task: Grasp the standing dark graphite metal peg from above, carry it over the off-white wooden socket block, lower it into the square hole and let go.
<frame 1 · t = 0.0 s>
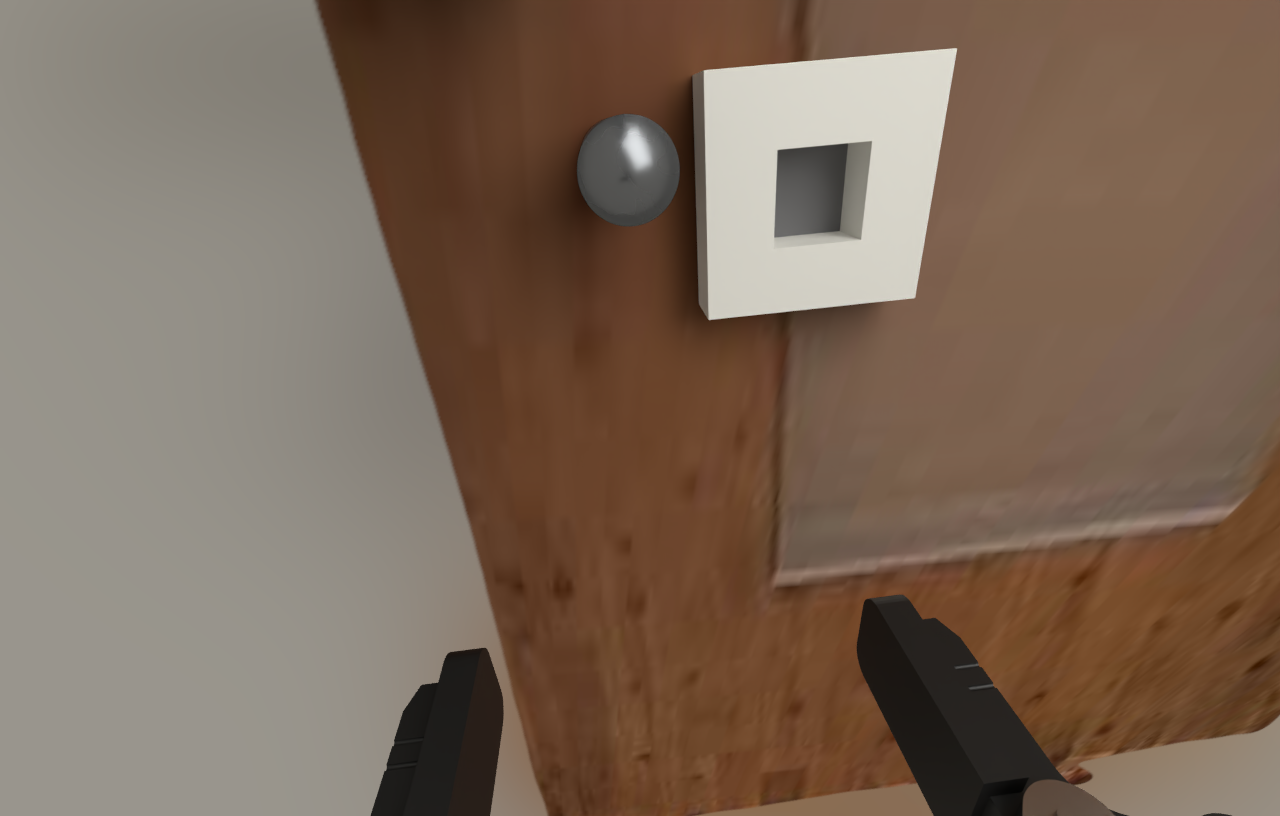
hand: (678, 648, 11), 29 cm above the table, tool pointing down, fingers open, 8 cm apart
graphite peg: (615, 157, 33), on the table
socket block: (800, 190, 35), on the table
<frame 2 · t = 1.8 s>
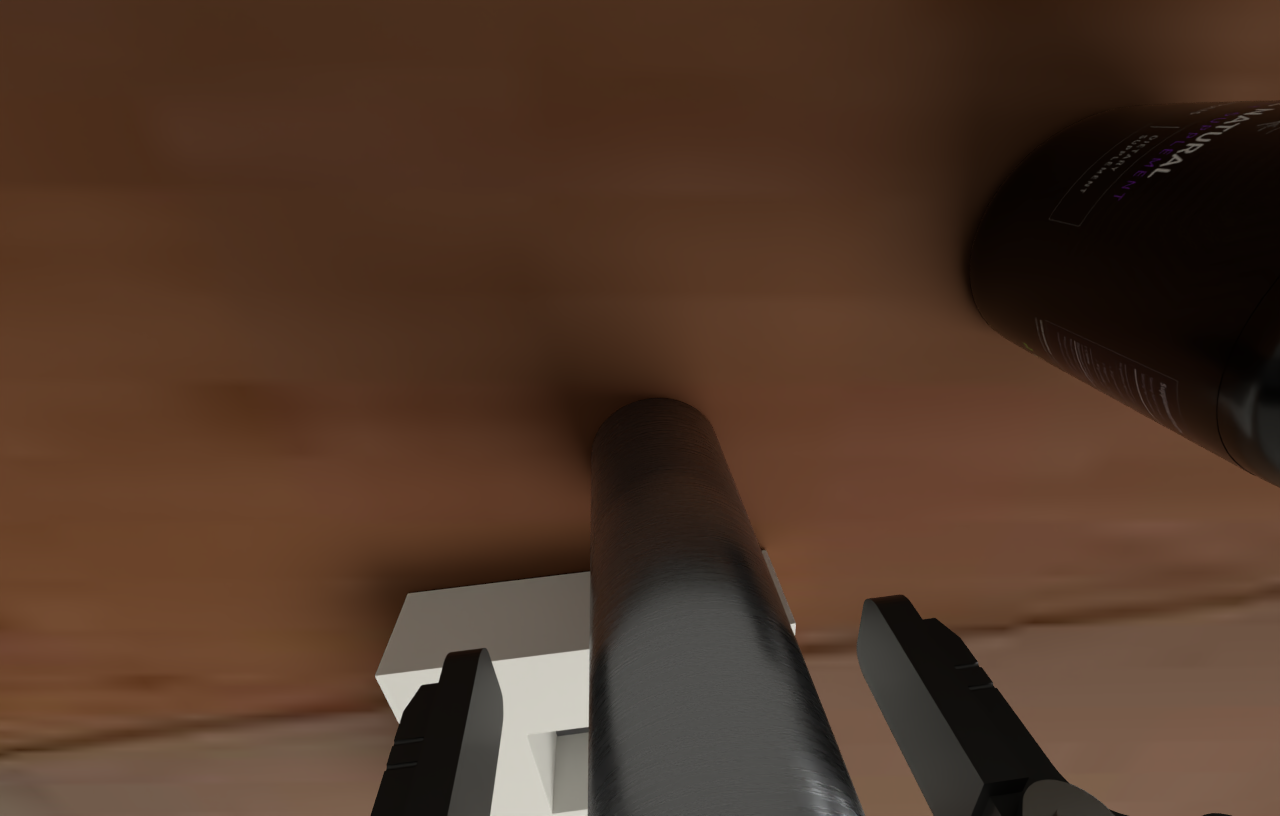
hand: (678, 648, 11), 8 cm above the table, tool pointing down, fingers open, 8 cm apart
supplement bottle: (1065, 235, 16), on the table
graphite peg: (655, 454, 18), on the table
socket block: (609, 685, 24), on the table
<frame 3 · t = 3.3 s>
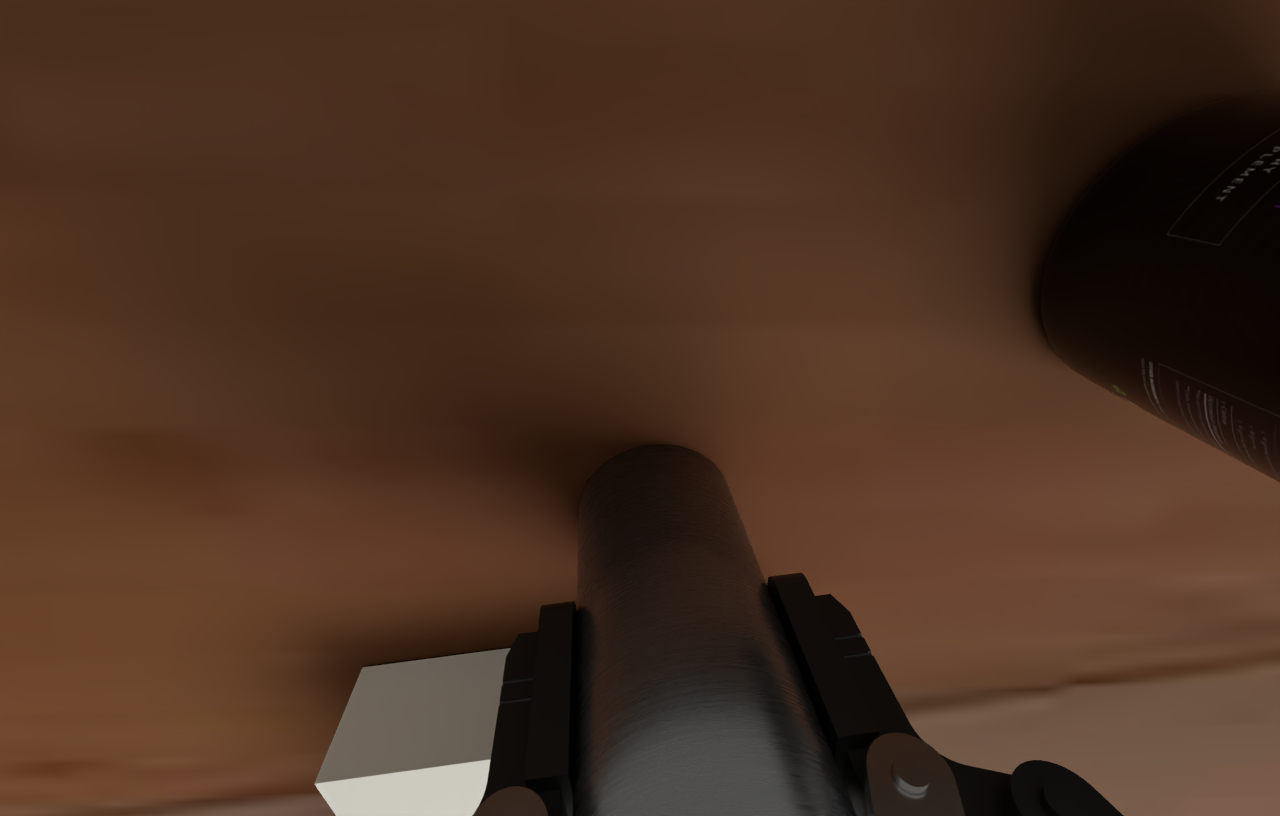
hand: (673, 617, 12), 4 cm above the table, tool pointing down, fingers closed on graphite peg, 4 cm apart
supplement bottle: (1155, 251, 13), on the table
graphite peg: (655, 509, 15), on the table, touching gripper
socket block: (600, 758, 21), on the table
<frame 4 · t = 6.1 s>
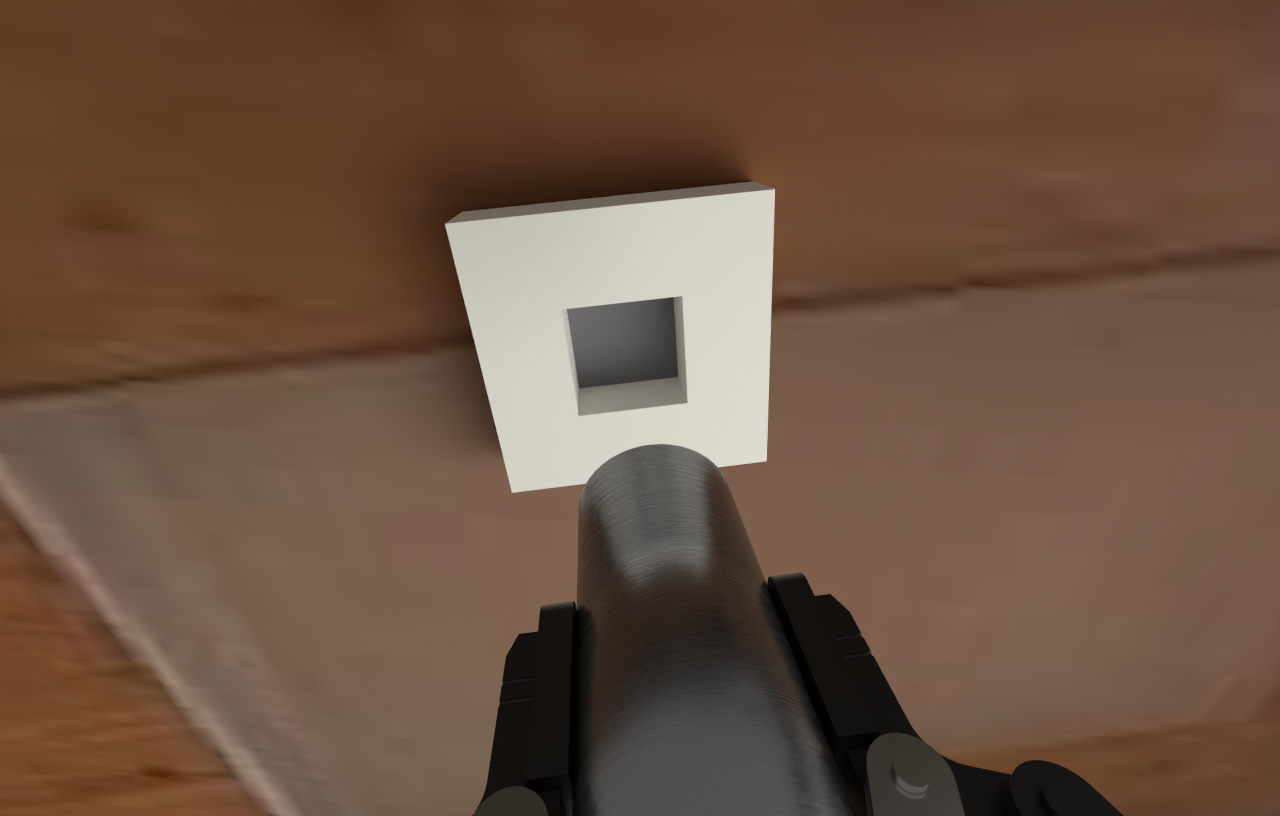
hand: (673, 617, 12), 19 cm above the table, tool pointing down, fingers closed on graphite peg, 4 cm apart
graphite peg: (655, 508, 15), point 15 cm above the table, touching gripper
socket block: (623, 333, 29), on the table
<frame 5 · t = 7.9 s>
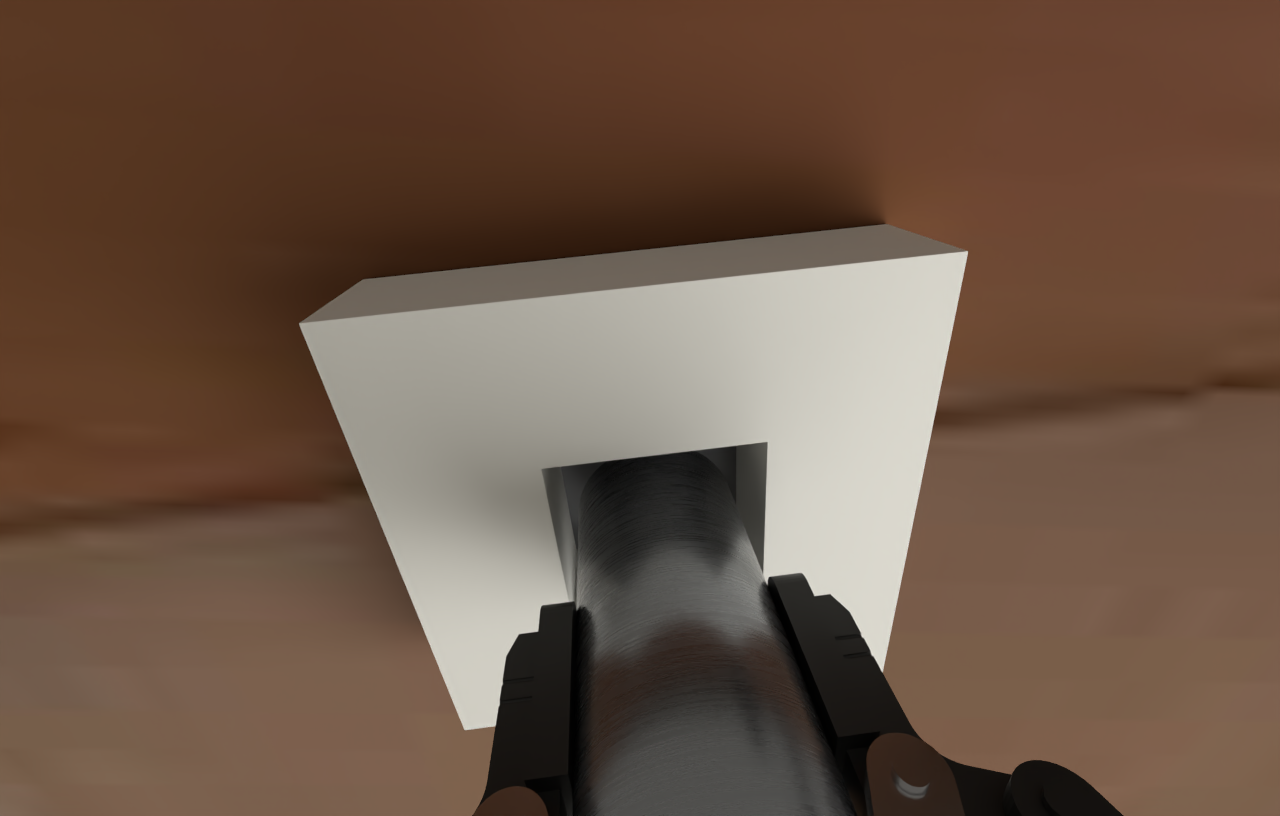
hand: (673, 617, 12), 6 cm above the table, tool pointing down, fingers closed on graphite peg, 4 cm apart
graphite peg: (655, 508, 15), point 2 cm above the table, touching gripper
socket block: (649, 468, 17), on the table
when the fingers open (5 cm above the table, at t = 9.2 s): graphite peg stays where it is, resting on socket block.
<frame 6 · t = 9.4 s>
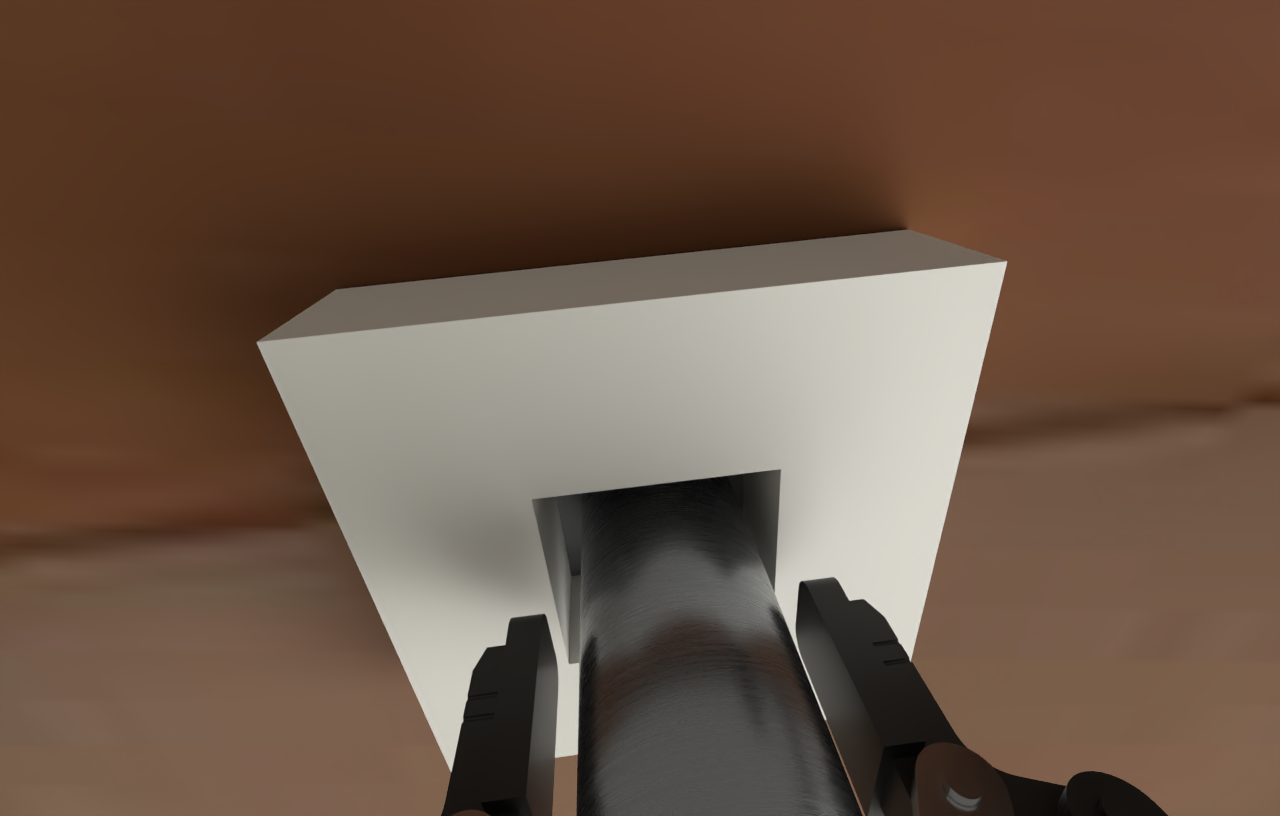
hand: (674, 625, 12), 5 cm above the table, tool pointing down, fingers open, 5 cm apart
graphite peg: (656, 494, 16), resting on socket block
socket block: (650, 490, 16), on the table
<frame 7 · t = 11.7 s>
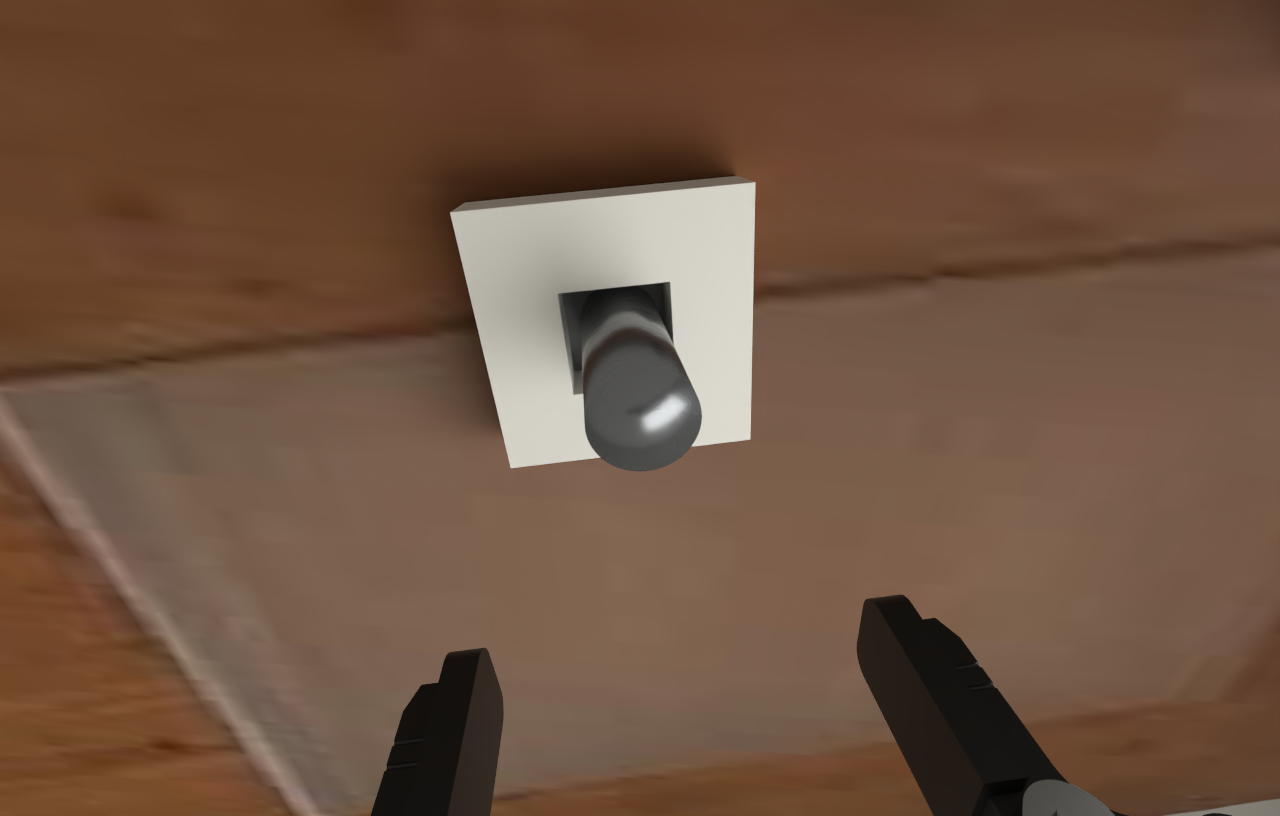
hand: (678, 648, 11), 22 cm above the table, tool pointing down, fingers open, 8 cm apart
graphite peg: (619, 319, 30), resting on socket block
socket block: (616, 319, 31), on the table
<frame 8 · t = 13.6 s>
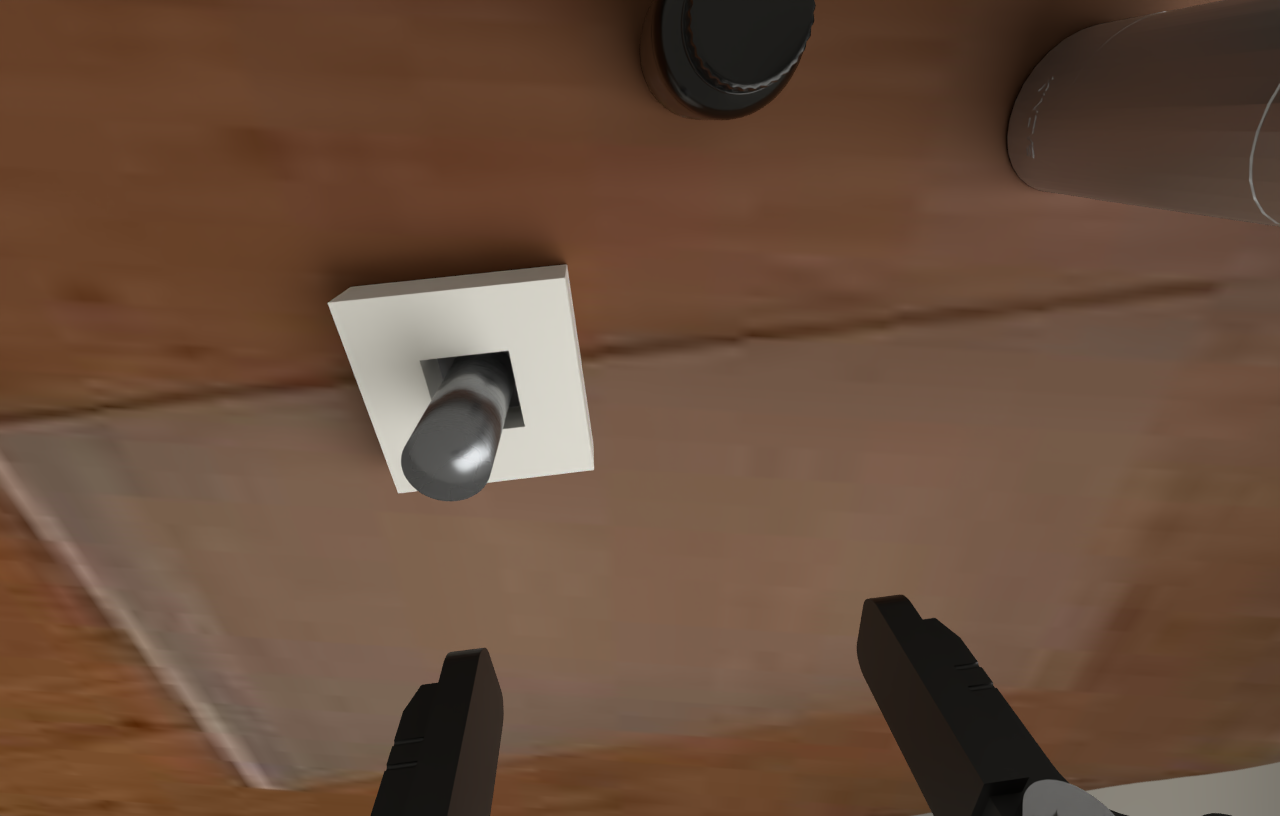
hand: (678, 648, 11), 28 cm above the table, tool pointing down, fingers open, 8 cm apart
supplement bottle: (696, 52, 30), on the table
graphite peg: (484, 374, 38), resting on socket block
socket block: (483, 373, 38), on the table
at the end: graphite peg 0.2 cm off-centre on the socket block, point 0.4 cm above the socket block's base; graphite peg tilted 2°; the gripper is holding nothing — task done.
